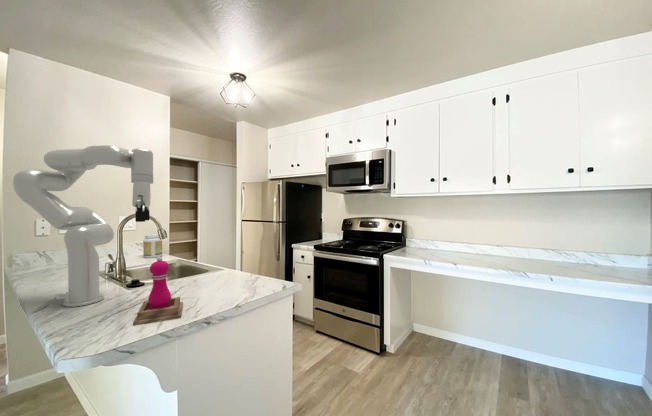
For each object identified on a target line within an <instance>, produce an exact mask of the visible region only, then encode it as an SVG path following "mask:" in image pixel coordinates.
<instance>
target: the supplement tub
mask: <svg viewBox="0 0 652 416" xmlns="http://www.w3.org/2000/svg"><path fill="white" fill-rule="evenodd" d="M158 234H159V233H153V234H152V233H151V234H150V233H149V234H144V239H143V243H142V244H143V258H145V259H155V258H156V259H157V258H158V257H162V256H163V239H162V240H160V239H159V237H158Z"/></svg>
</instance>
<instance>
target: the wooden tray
mask: <svg viewBox="0 0 652 416" xmlns="http://www.w3.org/2000/svg"><path fill="white" fill-rule="evenodd" d="M168 304H170V307H167V308H160V309H153V310H150V307H151V305H149V303H148V300H146V301H145V300H144V301H143V303H142V304H141V306H140V308H139V310H138V312H137V314H136V316H135V318H134V320H133V322H132V326H138V325H143V324H150V323H156V322H163V321H169V320H174V319H181V318H182V313H183V308H184V302H183V301H181V297H180V296H176V297H171V301H170V302H169V303H168Z"/></svg>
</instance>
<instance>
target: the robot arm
mask: <svg viewBox="0 0 652 416" xmlns="http://www.w3.org/2000/svg"><path fill="white" fill-rule="evenodd" d="M43 162H44V164H45V165H46V166H47V167H49V168H50V169H52V170H44V169H37V168H36V169H35V168H31V169H30V168H29V169H23V170H19V171H18V172H16V174H15V175H14V177H13V179H12V185H13V190H14V192H15V194H16V195H17V197H19V198H20V200H21V201H22V202H24V203H25V204H26V205H28V206H29V207H31V208H32V209H33V210H34V211H35V212H37V213H38V214H39V216H41V218H43V219H44V220H45V221H46V222H48V224H50V225H51V226H52V227H53V228H55V229H56V230H61V231H65V233H64V235H63V242H64V244H65V247H66V248H65V249H66V253H67V271H68V272H67V277H68V278H67V279H68V280H67V283H68V284H67V285H68V292H65V293H58V294H57V293H56V294H55V296H54V300H56V301H62V300H64V301H63V302H62V303H63V304H62V305H63V306H64V307H69V308H71V307H72V308H73V307H81V306H83V307H84V306H88V305H92V304H96V303H98V302H100V301H102V300H104V299H105V295H104V294H103V293H100V256H99V253H98V251H97V249H96V247H98V246H102V245H103V246H104V245H106V244H109V243H110V242H112V240H113V239H114V236H115V232H114V230H113V228H112V226H111V225H110V224H109V223H108V222H106V221H105V220H104V219H103V218H102V217H101V215H98V213H96V212H95V210H92V209H91V208H88V207H85V206H70V205H68V204H67V203H65V202H64V201H63V200H62V199H61V198H60V197H58V196H57V195H55V194H53V193H51V192H63V191H67V190H68V189H69V188H71V187H72V186H73V184H75V183H76V182H77V181H78V180H79V179H80V178H81V177H82V176H83V175H84V174H85V173H86V171H90V170H94V169H95V168H96V167H97V166H104V165H108V166H114V167H119V168H124V169H125V168H126V169H130V171H131V173H130V174H131V175H130V176H131V177H130V178H131V180H130V182H131V184H133V185H132V186H133V187H132V204H131V205H132V206H133V207H134V208H135V214H134V215H135V223H141V222H143V223H144V222H146V221H150V217H151V216H150V206H151V185H153V184H154V153H153V151H152V150H150V149H146V148H133V149H126V148H123V147H119V146H116V145H110V144H109V145H107V144H105V145H104V144H102V145H90V146H87V147H84V148H69V149H67V148H66V149H53V150H50V151H48V152H46V153H45V154H44V156H43ZM53 170H54V171H53Z"/></svg>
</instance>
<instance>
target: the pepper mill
mask: <svg viewBox="0 0 652 416" xmlns="http://www.w3.org/2000/svg"><path fill="white" fill-rule="evenodd" d="M169 270H170V264H169V263H168V262H167V261H165V260H163V257H162V256H160V257H156V261H154V262H152V263H151V264H150V267H149V272H150V274H151V280H152V288H151V291H150V293H149V295H148V299H147V301H148V303H149V305H151V307H150V310H153V309H160V308H167V307H170V304H168V303H169V302H170V301H171V298H172V294H171V292H170V289H169V288H168V287H169V286H168V285H167V278H168V271H169Z"/></svg>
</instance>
